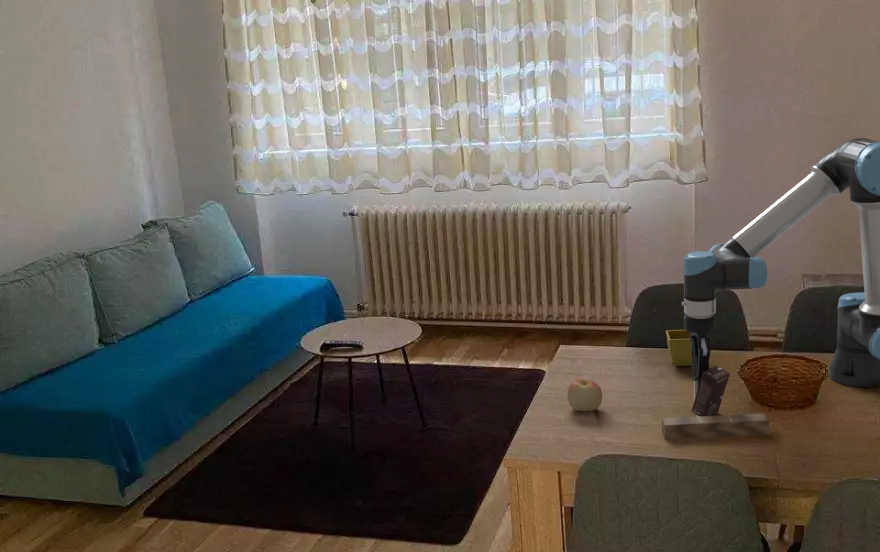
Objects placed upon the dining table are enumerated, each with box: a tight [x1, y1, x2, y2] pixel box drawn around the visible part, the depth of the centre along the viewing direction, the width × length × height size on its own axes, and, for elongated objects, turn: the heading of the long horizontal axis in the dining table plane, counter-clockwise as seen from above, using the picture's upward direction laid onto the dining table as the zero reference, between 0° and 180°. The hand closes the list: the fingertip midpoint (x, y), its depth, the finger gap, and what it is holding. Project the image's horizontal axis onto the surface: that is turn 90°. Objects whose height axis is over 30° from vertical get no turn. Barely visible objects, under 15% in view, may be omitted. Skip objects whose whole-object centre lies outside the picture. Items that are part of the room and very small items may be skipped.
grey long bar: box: [661, 413, 770, 440], centre depth 206 cm, size 24×4×4 cm, turn 86°
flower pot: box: [665, 329, 692, 367], centre depth 250 cm, size 9×9×9 cm
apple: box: [567, 378, 603, 412], centre depth 224 cm, size 9×9×8 cm
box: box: [691, 365, 731, 417], centre depth 214 cm, size 6×4×12 cm
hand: (699, 402), depth 220 cm, fingers closed
